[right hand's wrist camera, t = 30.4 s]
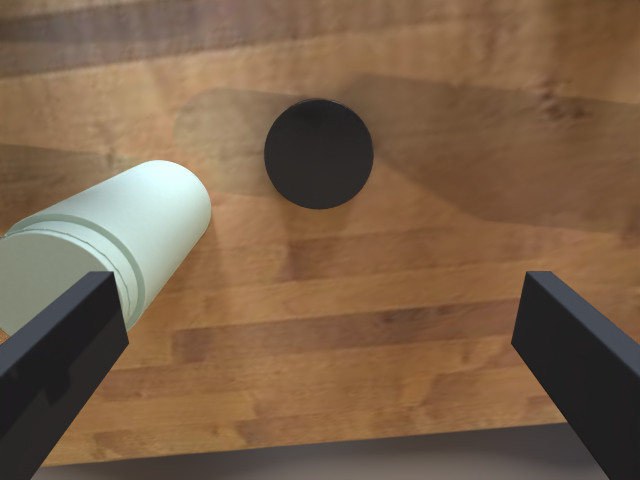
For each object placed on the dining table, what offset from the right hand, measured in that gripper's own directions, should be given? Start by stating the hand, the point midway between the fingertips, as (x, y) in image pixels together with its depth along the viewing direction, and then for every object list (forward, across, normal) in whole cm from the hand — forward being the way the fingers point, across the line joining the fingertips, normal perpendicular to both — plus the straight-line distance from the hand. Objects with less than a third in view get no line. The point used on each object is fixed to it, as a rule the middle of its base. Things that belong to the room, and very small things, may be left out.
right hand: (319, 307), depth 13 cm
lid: (+28, 0, 0) cm, 28 cm away
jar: (+30, +17, +6) cm, 35 cm away
